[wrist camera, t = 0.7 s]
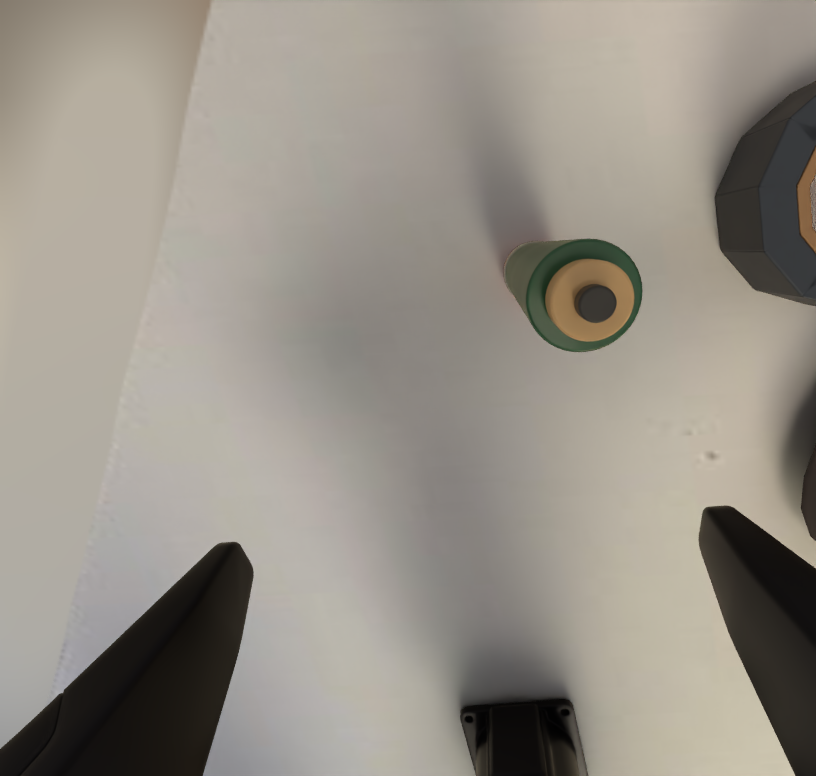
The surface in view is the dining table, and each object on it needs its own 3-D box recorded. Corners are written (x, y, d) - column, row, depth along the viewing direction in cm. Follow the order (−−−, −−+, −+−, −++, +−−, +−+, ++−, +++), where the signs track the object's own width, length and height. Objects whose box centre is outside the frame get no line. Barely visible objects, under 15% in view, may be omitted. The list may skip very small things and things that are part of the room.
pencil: (563, 290, 23) (677, 354, 9) (508, 303, 23) (542, 381, 10) (553, 235, 22) (660, 218, 9) (497, 249, 23) (517, 255, 9)
